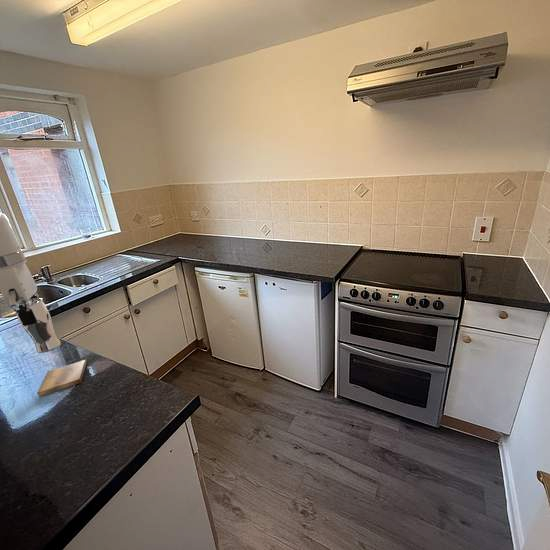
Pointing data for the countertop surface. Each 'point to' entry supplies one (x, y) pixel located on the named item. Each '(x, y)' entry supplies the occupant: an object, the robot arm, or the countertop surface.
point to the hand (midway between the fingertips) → (35, 317)
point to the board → (62, 378)
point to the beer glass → (41, 327)
